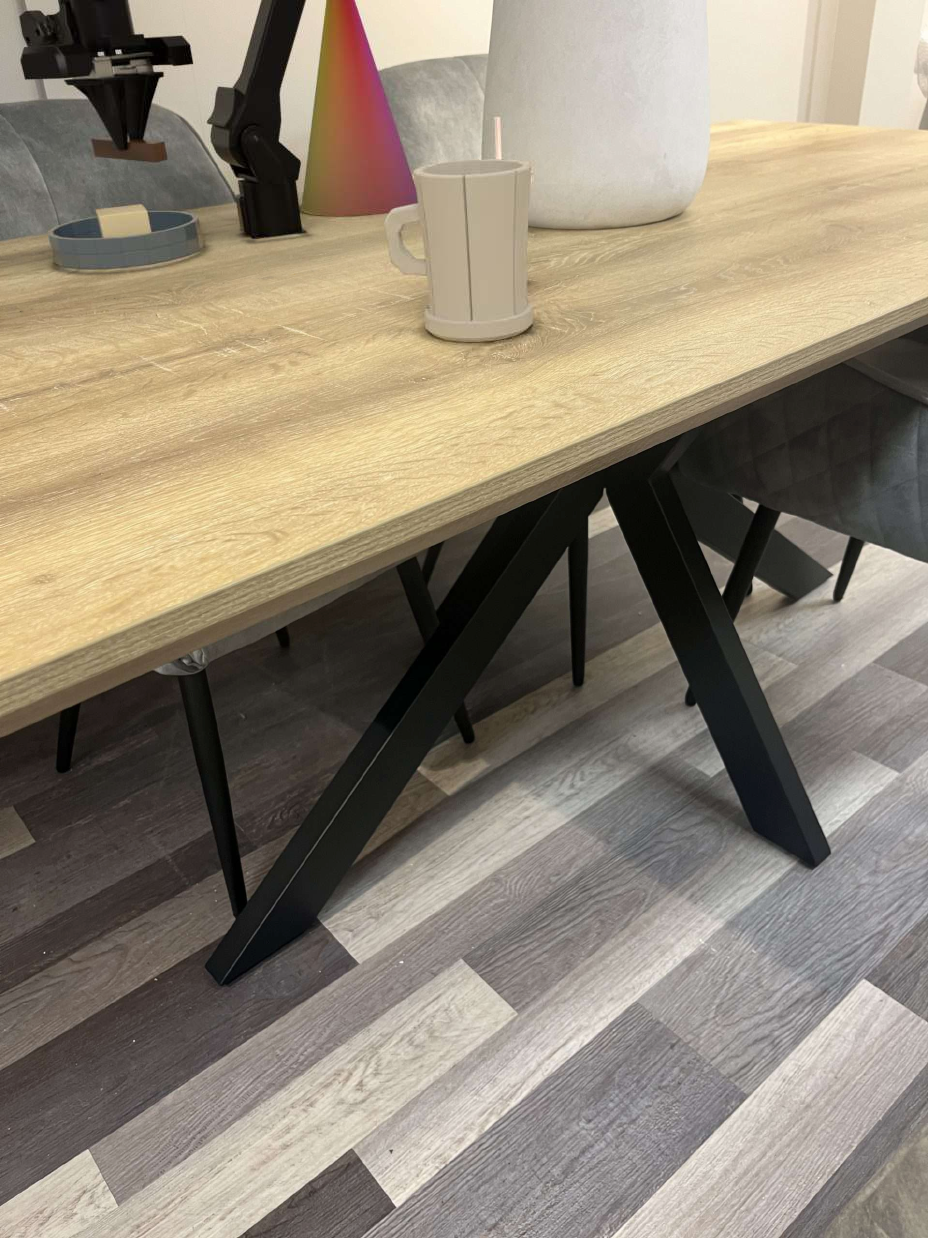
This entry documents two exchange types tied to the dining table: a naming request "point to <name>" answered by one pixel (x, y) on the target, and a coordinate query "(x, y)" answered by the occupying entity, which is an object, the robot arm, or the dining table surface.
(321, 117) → the decorative cone
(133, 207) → the block
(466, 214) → the cup
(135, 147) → the stick
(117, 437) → the dining table surface
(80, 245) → the bowl
